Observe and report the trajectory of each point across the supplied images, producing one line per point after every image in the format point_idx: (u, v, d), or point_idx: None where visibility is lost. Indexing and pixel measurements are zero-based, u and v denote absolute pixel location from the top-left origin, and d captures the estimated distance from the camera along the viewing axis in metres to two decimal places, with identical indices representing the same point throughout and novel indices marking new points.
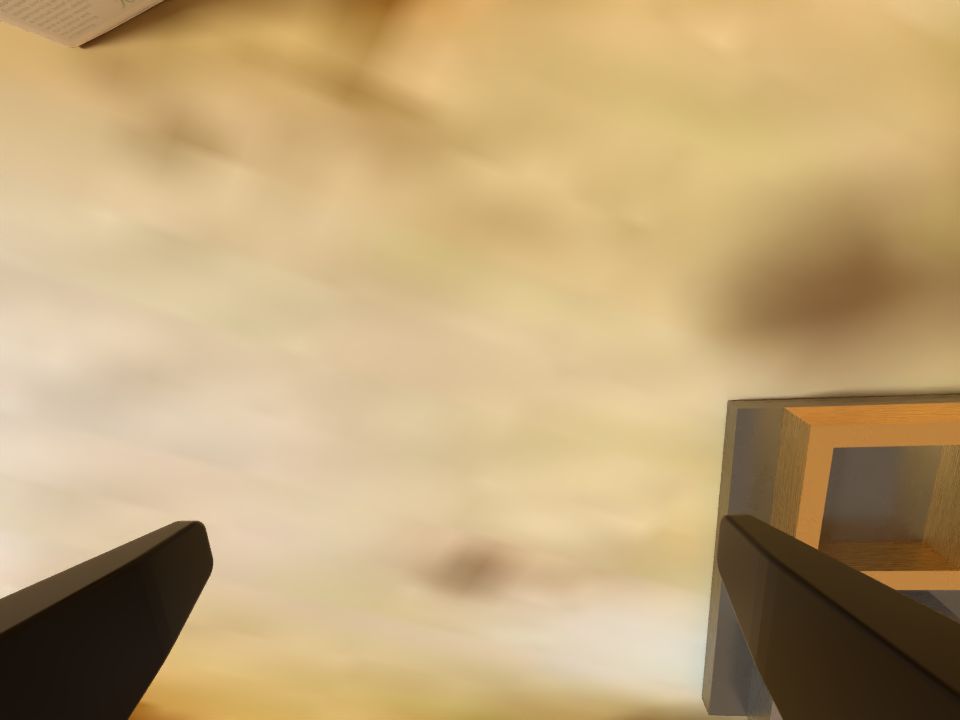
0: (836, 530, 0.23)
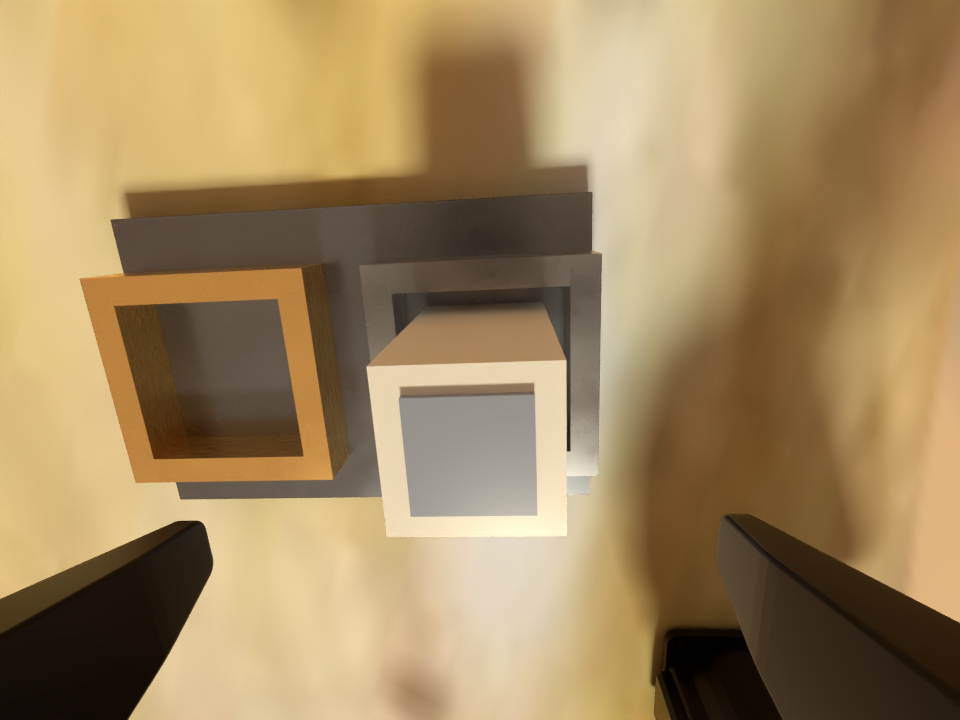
0: None
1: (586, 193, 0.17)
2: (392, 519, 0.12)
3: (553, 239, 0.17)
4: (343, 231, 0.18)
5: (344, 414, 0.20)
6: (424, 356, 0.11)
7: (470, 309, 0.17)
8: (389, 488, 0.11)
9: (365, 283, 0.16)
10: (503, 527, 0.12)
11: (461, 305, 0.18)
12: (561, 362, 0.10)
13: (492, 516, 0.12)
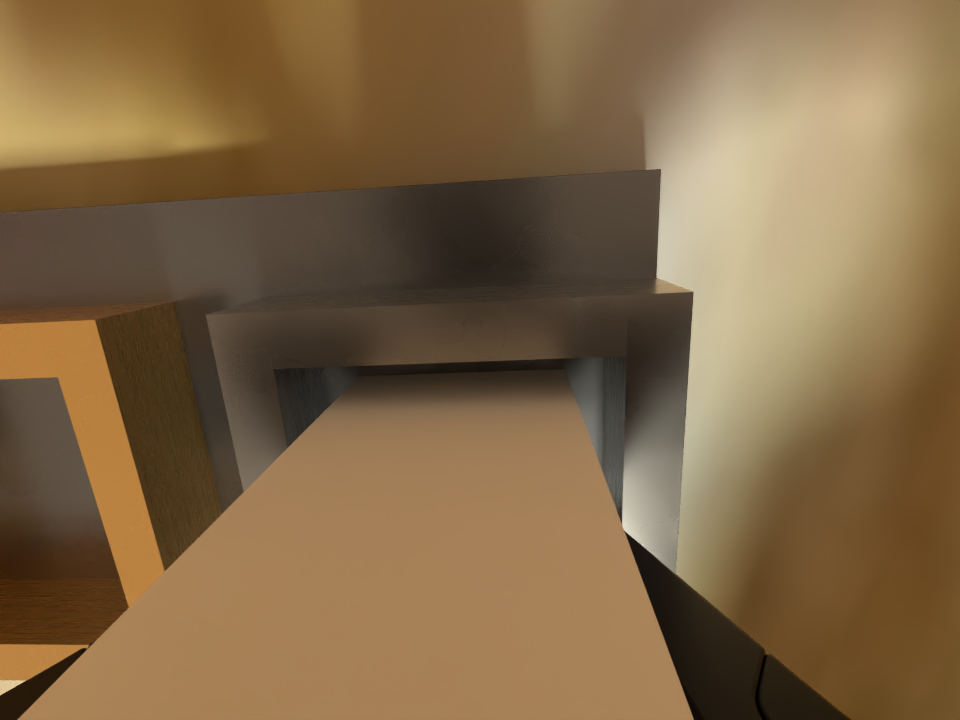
0: None
1: (649, 172, 0.09)
2: None
3: (584, 259, 0.09)
4: (202, 244, 0.10)
5: None
6: (202, 698, 0.03)
7: (432, 390, 0.09)
8: None
9: (220, 349, 0.08)
10: None
11: (419, 375, 0.10)
12: None
13: None
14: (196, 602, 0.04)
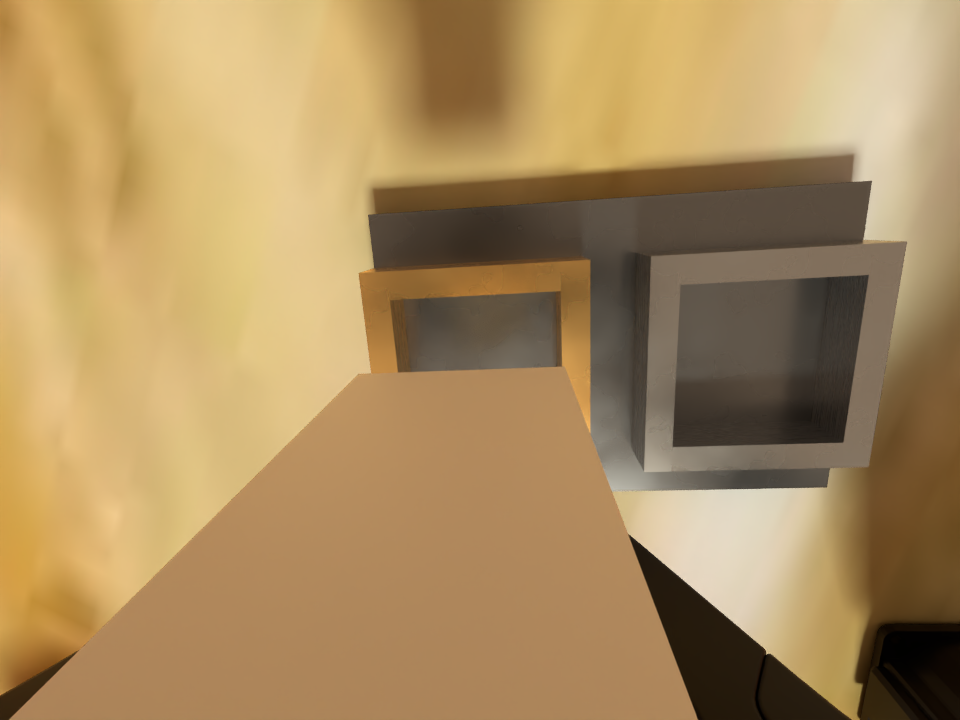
0: None
1: (865, 182, 0.17)
2: None
3: (824, 229, 0.17)
4: (606, 223, 0.18)
5: None
6: (200, 694, 0.03)
7: (431, 387, 0.09)
8: None
9: (655, 274, 0.16)
10: None
11: (419, 373, 0.10)
12: None
13: None
14: (194, 598, 0.04)
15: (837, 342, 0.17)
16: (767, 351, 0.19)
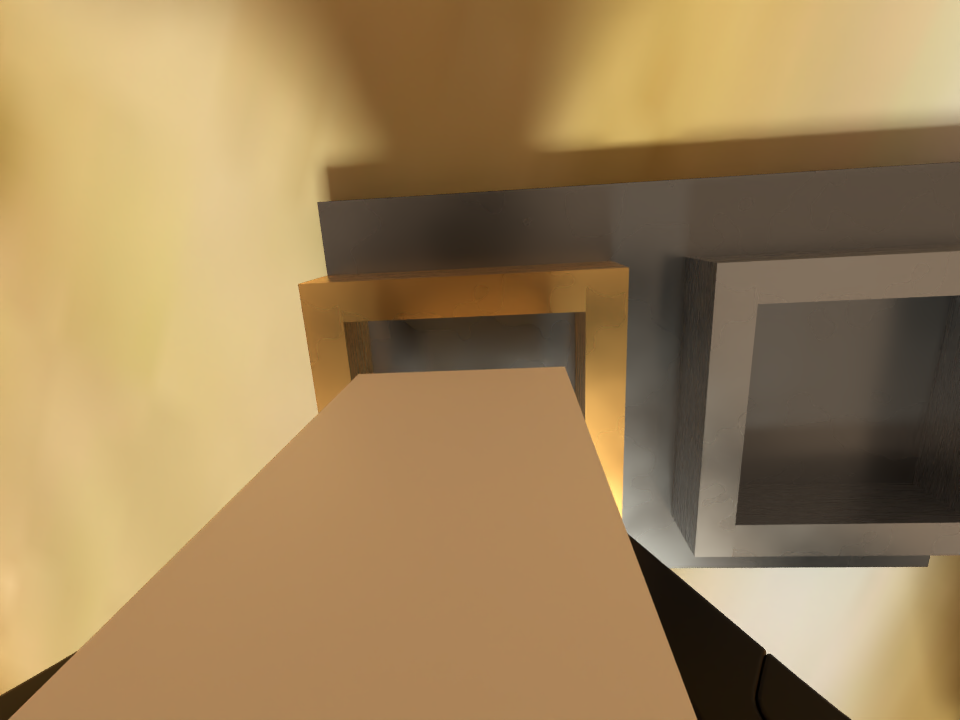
0: None
1: None
2: None
3: (950, 226, 0.12)
4: (647, 215, 0.13)
5: None
6: (199, 695, 0.03)
7: (431, 387, 0.09)
8: None
9: (722, 289, 0.11)
10: None
11: (419, 373, 0.10)
12: None
13: None
14: (193, 599, 0.04)
15: None
16: (860, 391, 0.14)
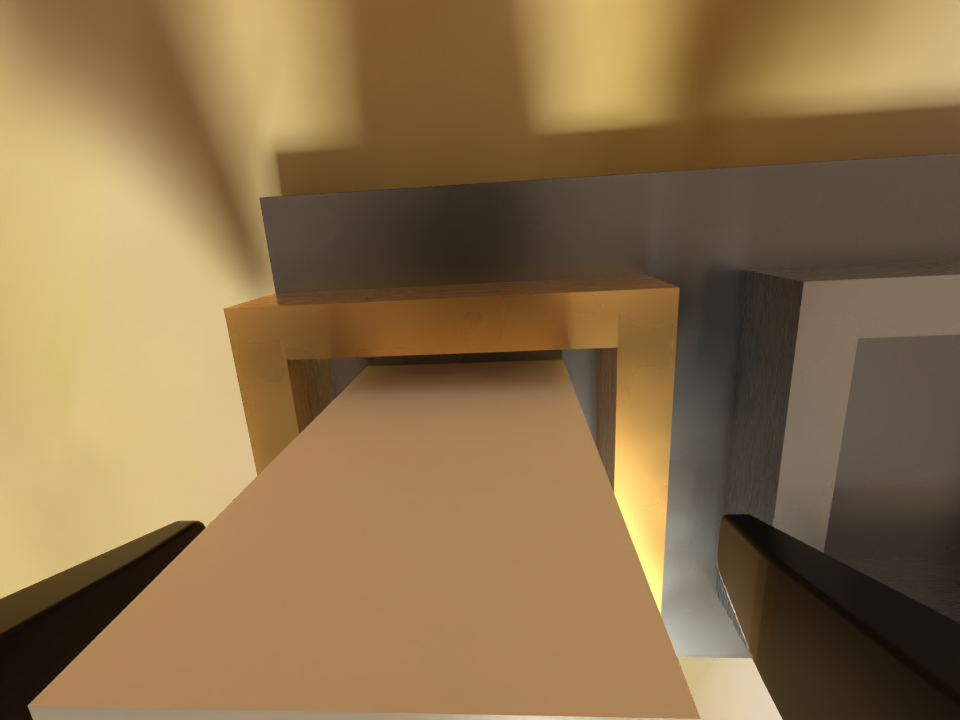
0: None
1: None
2: None
3: None
4: (695, 215, 0.10)
5: None
6: (250, 624, 0.04)
7: (437, 378, 0.10)
8: None
9: (809, 318, 0.08)
10: None
11: (425, 365, 0.11)
12: None
13: None
14: (235, 553, 0.05)
15: None
16: None
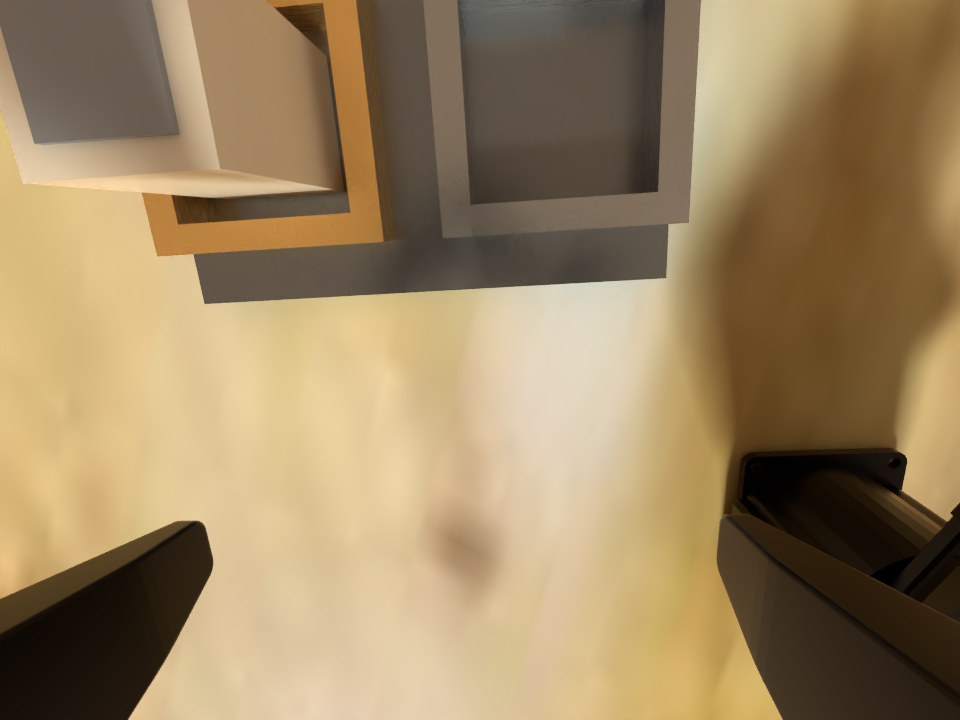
0: (342, 154, 0.17)
1: None
2: (23, 157, 0.10)
3: None
4: None
5: (391, 187, 0.18)
6: None
7: None
8: (10, 112, 0.10)
9: None
10: (147, 160, 0.10)
11: None
12: None
13: (132, 145, 0.10)
14: None
15: (652, 79, 0.15)
16: (586, 108, 0.17)
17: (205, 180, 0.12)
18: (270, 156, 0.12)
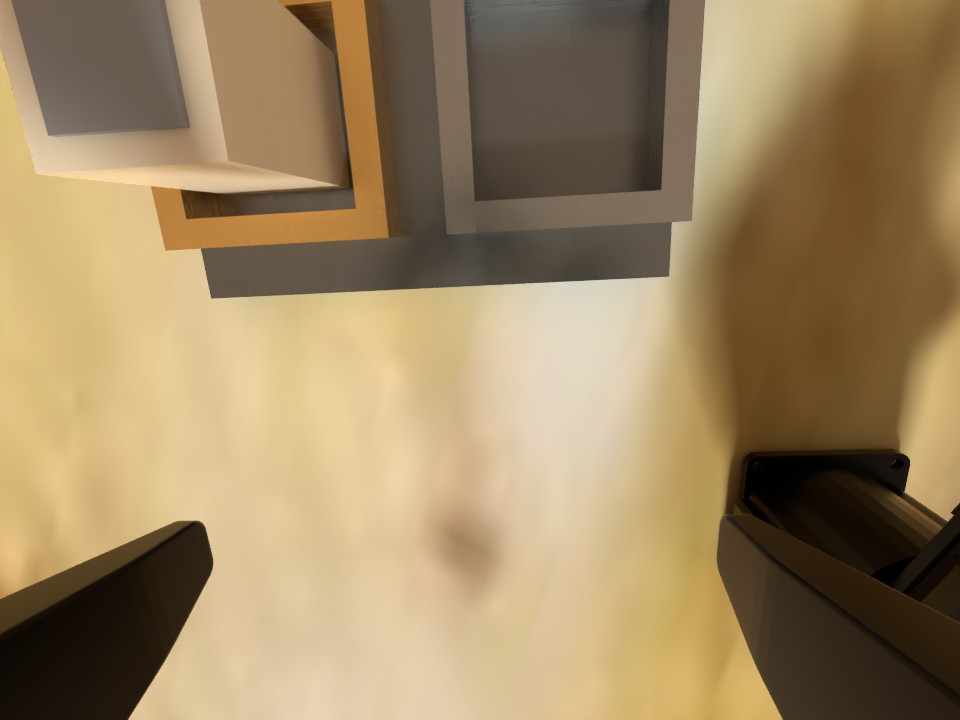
0: (348, 151, 0.18)
1: None
2: (37, 148, 0.10)
3: None
4: None
5: (396, 184, 0.18)
6: None
7: None
8: (25, 105, 0.10)
9: None
10: (157, 152, 0.10)
11: None
12: None
13: (143, 138, 0.10)
14: None
15: (656, 78, 0.15)
16: (591, 107, 0.17)
17: (213, 173, 0.12)
18: (277, 150, 0.12)
